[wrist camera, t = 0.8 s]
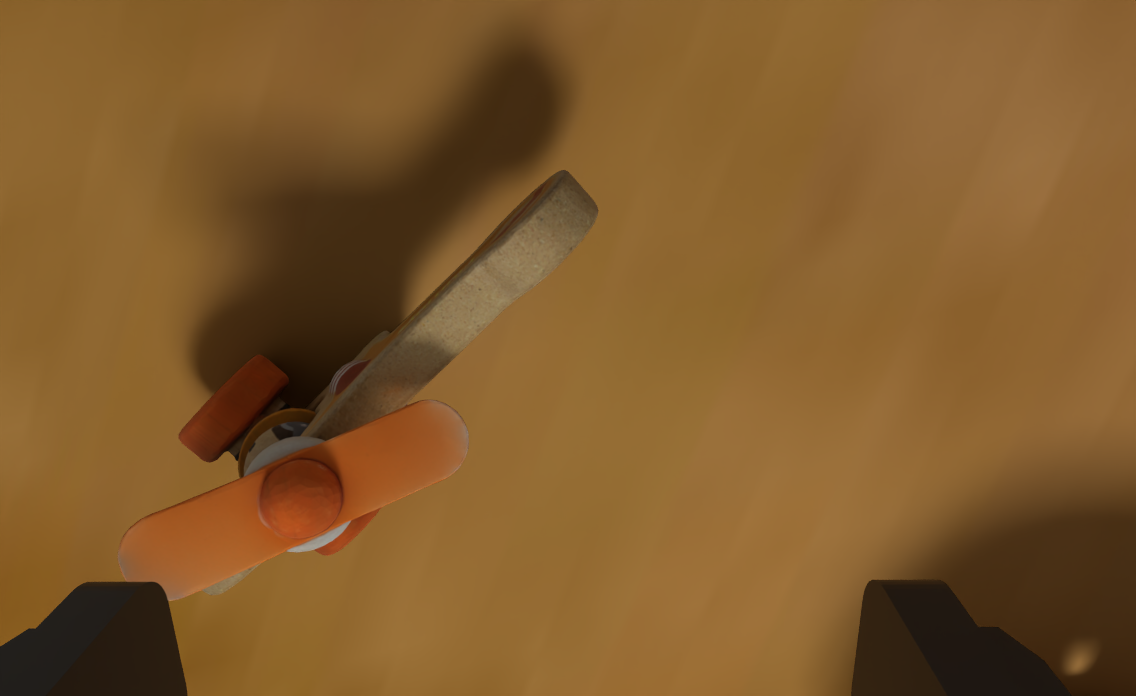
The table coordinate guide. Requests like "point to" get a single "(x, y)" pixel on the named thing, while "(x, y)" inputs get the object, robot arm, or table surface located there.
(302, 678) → the table surface
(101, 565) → the table surface
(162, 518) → the toy helicopter
